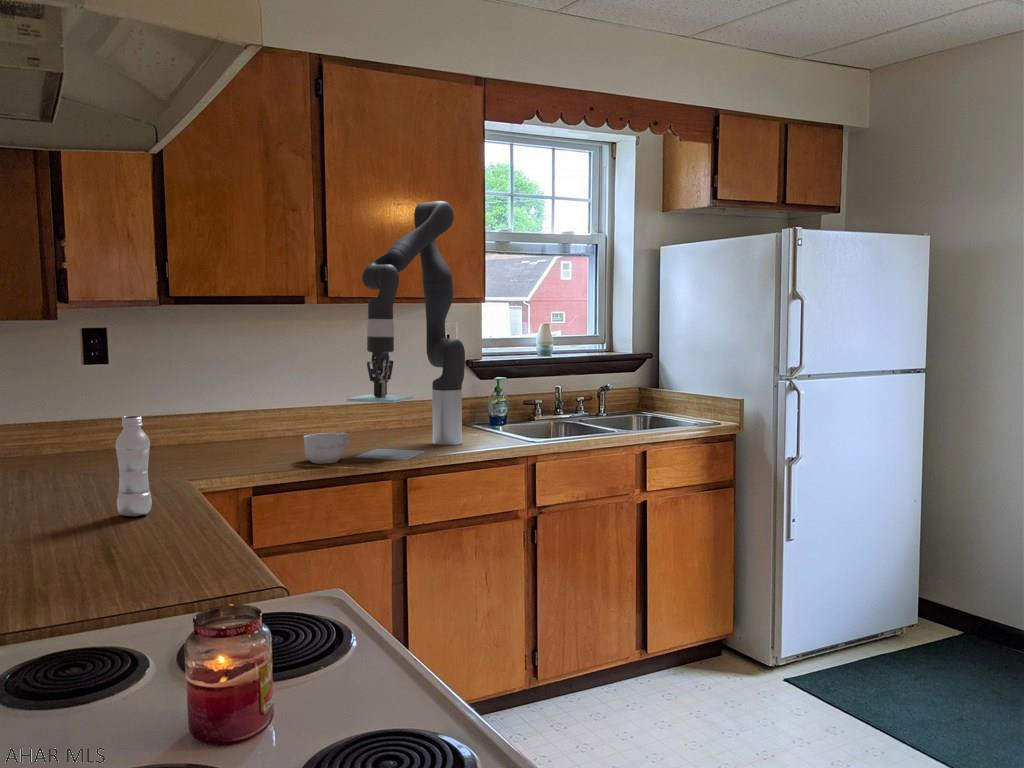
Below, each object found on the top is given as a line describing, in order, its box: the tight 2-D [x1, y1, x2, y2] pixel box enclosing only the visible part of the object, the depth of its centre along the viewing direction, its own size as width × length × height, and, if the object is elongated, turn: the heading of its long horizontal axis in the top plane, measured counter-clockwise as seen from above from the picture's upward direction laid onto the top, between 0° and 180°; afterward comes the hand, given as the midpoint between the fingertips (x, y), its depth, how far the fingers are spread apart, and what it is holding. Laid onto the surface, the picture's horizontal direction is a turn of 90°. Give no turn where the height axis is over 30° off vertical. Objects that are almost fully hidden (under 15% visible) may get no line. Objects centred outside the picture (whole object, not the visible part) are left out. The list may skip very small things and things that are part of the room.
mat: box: [354, 448, 427, 461], centre depth 245 cm, size 16×16×1 cm
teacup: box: [302, 432, 351, 465], centre depth 233 cm, size 14×11×8 cm
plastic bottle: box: [115, 415, 153, 517], centre depth 169 cm, size 6×7×20 cm
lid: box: [346, 379, 413, 404], centre depth 241 cm, size 14×14×6 cm
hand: (380, 395), depth 241 cm, fingers closed on lid, 2 cm apart
